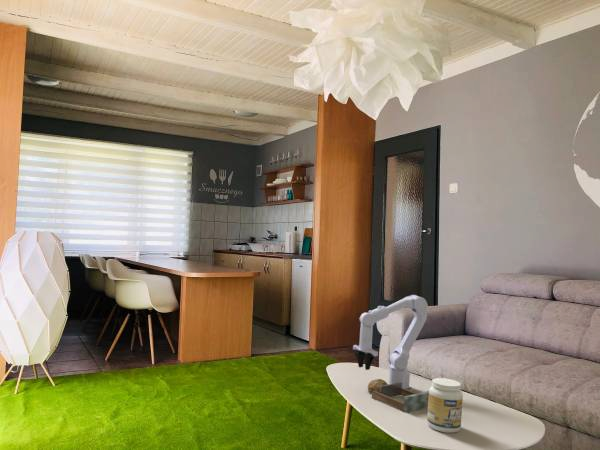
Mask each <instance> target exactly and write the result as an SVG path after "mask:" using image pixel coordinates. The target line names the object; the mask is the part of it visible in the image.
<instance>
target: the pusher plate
mask: <svg viewBox="0 0 600 450" xmlns="http://www.w3.org/2000/svg"><path fill="white" fill-rule="evenodd" d="M387 384H388V385H383V386H380V393H381V394H383V395H386V396H388V397H391V398H394V397H398V396H402V395H401V392H402V382H399V383H394V384H389V383H387Z"/></svg>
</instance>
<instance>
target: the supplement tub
mask: <svg viewBox="0 0 600 450" xmlns="http://www.w3.org/2000/svg"><path fill="white" fill-rule="evenodd" d="M428 391H429V400H428V407H427V415H426V417H427V419H426V422H427V425H428V426H429V427H430V428H431V429H433V430H436V431H438V432H442V433H446V434H447V433H448V434H455V433H458V432H459V431H460V430H461V429H462V428H461V427H462V413H463V398H464V396H463V395H464V394H463V393H462V386H461V383H460V382H459V381H457V380H454V379H451V378H450V379H449V378H444V377H437V378H433V379H432V380H431V386H430V387H429V390H428Z"/></svg>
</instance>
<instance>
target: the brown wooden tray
mask: <svg viewBox="0 0 600 450" xmlns="http://www.w3.org/2000/svg"><path fill="white" fill-rule="evenodd" d="M400 396H402V397H403V401H400V400H398V399H396V398H394V397H388V396H386V395H383V394H381V393H378V392H376V391H372V395H371V399H372V400H375V401H378V402H380V403H382V404H385V405H387V406H389V407H392V408H394V409H396V410H399V411H401V412H404V413H409V412H414V411H415V412H416V411H418V410H422V409H426V408H427V409H428V400H429V390H428V391H422V392H418V393H417V392H415V391H413V390H409V389H408V388H407V389H404V388H402V392H401V395H400Z"/></svg>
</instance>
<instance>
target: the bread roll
mask: <svg viewBox="0 0 600 450" xmlns="http://www.w3.org/2000/svg"><path fill="white" fill-rule="evenodd" d="M388 384H389V383H387V381H386V380H384V379H381V378H376V379H373V380H371V381H369V383H368V385H367V391H368V393H369V394H370V395H371V396H372V391H376V392H378V393H380V386H383V385H388Z"/></svg>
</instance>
